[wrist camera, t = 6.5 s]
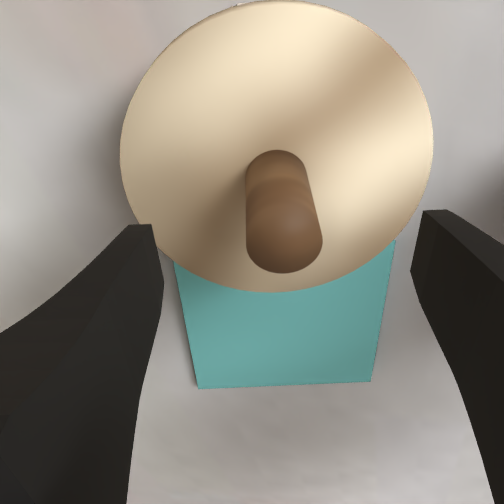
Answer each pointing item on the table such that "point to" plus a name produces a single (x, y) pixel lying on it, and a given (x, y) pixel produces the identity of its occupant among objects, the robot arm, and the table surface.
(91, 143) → the table surface
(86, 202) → the table surface
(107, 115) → the table surface
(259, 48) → the cover
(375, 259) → the mat
